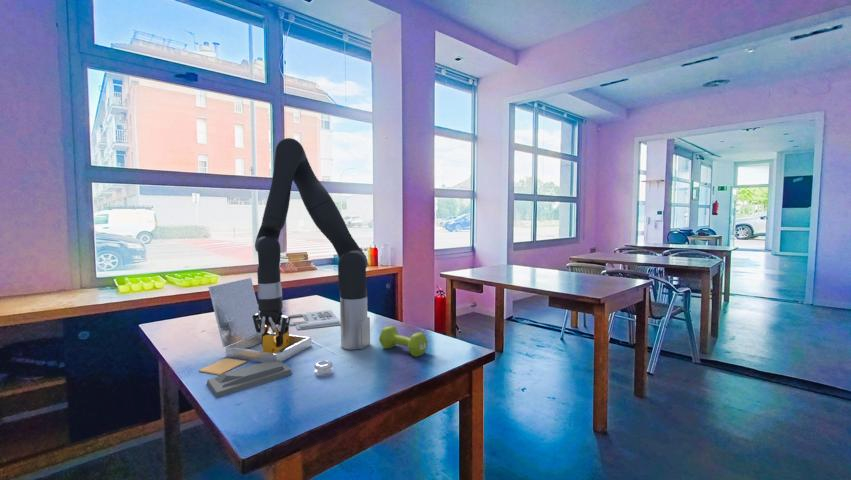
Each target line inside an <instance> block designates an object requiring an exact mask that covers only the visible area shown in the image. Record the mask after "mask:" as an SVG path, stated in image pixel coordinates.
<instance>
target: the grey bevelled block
mask: <svg viewBox="0 0 851 480" xmlns="http://www.w3.org/2000/svg"><path fill="white" fill-rule="evenodd" d="M291 375H293V373H292V369H291V368H290V367H289V366H288V365H287V364H286V363H284V362H283V361H282V362H281V361H279V360H278V361H274V362H259V363H257V364H252V365H249V366H246V367H242V368H238V369H233V370H230V371H228V372H226V373H223V374H221V375H217V376H215V377H211V378H208V379H207V381H206V386H207V387H208V388H209V389H210V390H211V392H212V393H213V394H214V395H215V397H216V398H221V397H224V396H226V395H229V394H233V393H236V392H237V393H238V392H239V391H243V390H247V389H250V388H252V387H255V386H256V387H257V386H258V385H259V386H260V385H263V384H266V383H269V382H271V381H276V380H279V379H282V378H285V377H289V376H291Z"/></svg>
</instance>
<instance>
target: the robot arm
mask: <svg viewBox="0 0 851 480" xmlns="http://www.w3.org/2000/svg"><path fill="white" fill-rule="evenodd" d="M274 150H275V151H274V165H273V173H272V179H271V184H270V189H269V192H268V195H267V200H266V204H265V208H264V212H263V216H262V221H261V225H260V227H259V230H258V233H257V236H256V239H255V243H254V249H255V251H256V252H257V257H258V258H257V261H258V266H257V304H258V309H259V312H260V313H258V314H255V315H253V316H252V317H253V321H254V325H255V329H256V332H260V333H261V335H262V342H261V343H262V344H263V336H265V335H269V333H267V332H270V331H269V330H270V326H272V328H273V330H274V331H275V334H276V347H280V346H282V344H283V334H285V333H288V329H289V330H290V326H289V323H290V319H291V318H290V316H287V315H285V314H284V313H283V311H282V310H283V307H284V304H283V287H282V283H281V282H282V281H281V270H280V269H281V268H280V266H281V243H280V241H279V239H280V235H281V231H282V230H283V228H284V227H285V224H286V220H287V216H288V213H289V212H288V211H289V207H290V201H291V193H292V185H293V183H294V184H295V186H296V188H297V191H298V193H299V195H300V199H301V200H302V202H303V203H302V204H303V205H304V207H305V209H306V211H307V212H308V215H309V216H310V218H311V220H312V221H313V223H314V224H315V226H316V227H317V229H318V230H319V231H320V232H321V233H322V234H323V236H325V237H326V239H327V240H328V241H329V242H330V244H331V245H332V247H333V248H334V250H335V252H336V254H337V256H338V258H339V259H338V262H337V277H338V279H337V280H338V291H339V300H340V301H339V306H340V307H339V311H340V313H339V316H340V319H339V321H340V322H341V325H340V346H341V348H342V349H345V350H350V351H351V350H353V351H354V350H363V349H365V348H366V347H367V346H369V345H371V319H370V317H369V316H368V288H367V268H368V258H367V256H366V254H365V253H364V251H363V250H362V248H361V247H360V246H359V244H358V243H357V242H356V240H355V239H354V238H353V236H352V234H351V233H350V231H349V229H348V226H347V224H346V222H345V220H344V218H343V215H342V214H341V212H340V210H339V208H338V207H337V205H336V202H335V201H334V200H333V198H332V196H331V195H330V193H329V192H328V191H327V189H326V187H325V186H324V185H323V184H322V183H321V181H320V180H319V179H318V178H317V176H316V174H315V172H314V171H313V169H312V167H311V164H310V161H309V159H308V157H307V154H306V151H305V149H304V147H303V145H302V144H301V142H299V140H297V139H294V138H291V137H286V138H283V139H281V140H280V141H278V143H277V144H276V145H275V149H274ZM286 316H287V317H286ZM259 326H260V328H259ZM260 333H259V334H260Z"/></svg>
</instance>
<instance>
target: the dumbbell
mask: <svg viewBox="0 0 851 480" xmlns="http://www.w3.org/2000/svg"><path fill="white" fill-rule="evenodd" d="M378 339H379V343H380V345H381V347H382V348H383V349H392V348H393V347H395V346H396V345H400V346H403V347H407V349H408V351H409V353H410V355H411V356H412V357H416V358H418V356H419V357H421V356H422V355H424V354H425V353H426V350H427V348H428V344H429V343H428V338H427V336H426V334H425V333H423V332H421V331H420V332H414V333H413V334H412V335H411V336H409V337H408V336H404V335H402V334H401V335H399V331H398V330H397V328H396V327H395V326H393V325H388V326H385V327H383V328H382V329H381V331H380V335H379V338H378Z"/></svg>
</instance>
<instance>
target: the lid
mask: <svg viewBox="0 0 851 480" xmlns="http://www.w3.org/2000/svg"><path fill="white" fill-rule="evenodd" d="M207 288H208V291H209V294H210V295H209V296H210V299H211V303H212V308H213V312H214V316H215V320H216V324H217V328H218V332H219V336H220V340H221V344H222V347H223V348H226V347H228V346H230V345H233V344H235V343H238V342H240V341H243V340H245V339H248V338H250V337H252V336H255V335H257V334H260V332H256V329H255V325H254V321H253V317H252V316H253V315H255V314H258V313H260V311H259V309H258V299H257V297H256V292H255V289H254V284H253V280H252V277H248V278H244V279H239V280H235V281H230V282H225V283H222V284H217V285H213V286H209V287H207ZM259 328H260V326H259Z"/></svg>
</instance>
